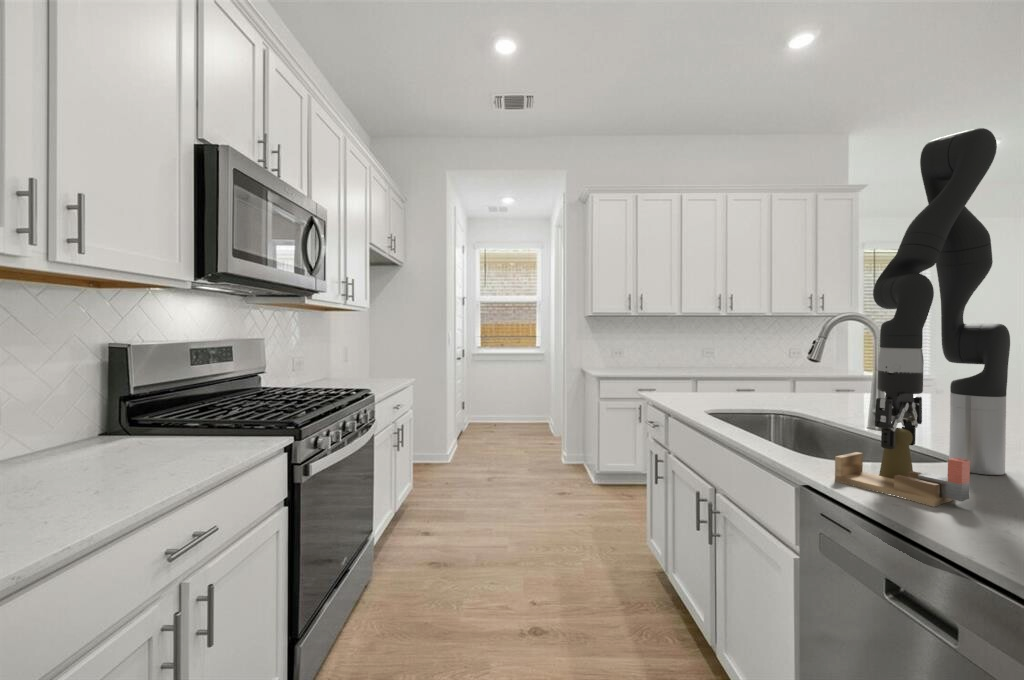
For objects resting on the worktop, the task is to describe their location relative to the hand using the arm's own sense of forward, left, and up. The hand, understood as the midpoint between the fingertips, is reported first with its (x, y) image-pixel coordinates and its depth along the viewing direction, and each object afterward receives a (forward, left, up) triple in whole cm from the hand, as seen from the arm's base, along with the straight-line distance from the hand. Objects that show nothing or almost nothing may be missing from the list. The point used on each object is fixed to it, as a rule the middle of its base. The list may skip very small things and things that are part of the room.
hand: (898, 446), depth 103 cm
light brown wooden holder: (+8, +2, -7) cm, 11 cm away
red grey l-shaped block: (+8, +11, -6) cm, 15 cm away
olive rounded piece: (-1, -1, -8) cm, 8 cm away
